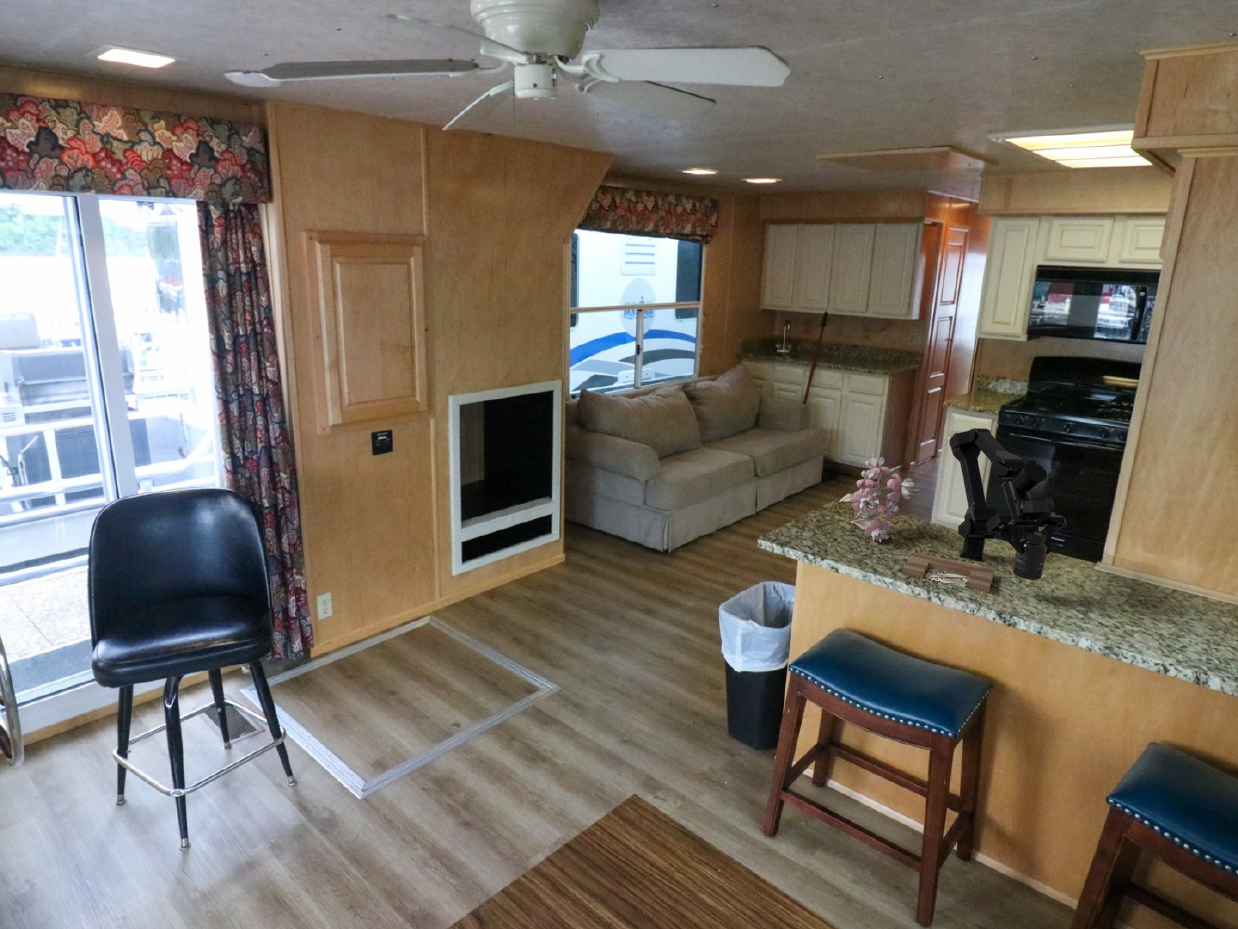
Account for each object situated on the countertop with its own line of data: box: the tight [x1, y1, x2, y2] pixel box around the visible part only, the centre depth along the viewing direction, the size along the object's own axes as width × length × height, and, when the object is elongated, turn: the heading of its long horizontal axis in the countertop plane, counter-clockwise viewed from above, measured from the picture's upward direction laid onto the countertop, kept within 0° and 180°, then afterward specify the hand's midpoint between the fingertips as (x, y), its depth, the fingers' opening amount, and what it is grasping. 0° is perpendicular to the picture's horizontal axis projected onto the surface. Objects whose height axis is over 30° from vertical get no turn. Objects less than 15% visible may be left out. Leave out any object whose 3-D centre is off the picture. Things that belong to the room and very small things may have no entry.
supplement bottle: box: [1012, 529, 1047, 581], centre depth 200 cm, size 7×7×12 cm
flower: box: [838, 452, 920, 543], centre depth 243 cm, size 20×22×25 cm
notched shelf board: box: [901, 551, 996, 594], centre depth 214 cm, size 14×22×2 cm, turn 60°
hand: (1034, 553), depth 198 cm, fingers closed on supplement bottle, 7 cm apart
